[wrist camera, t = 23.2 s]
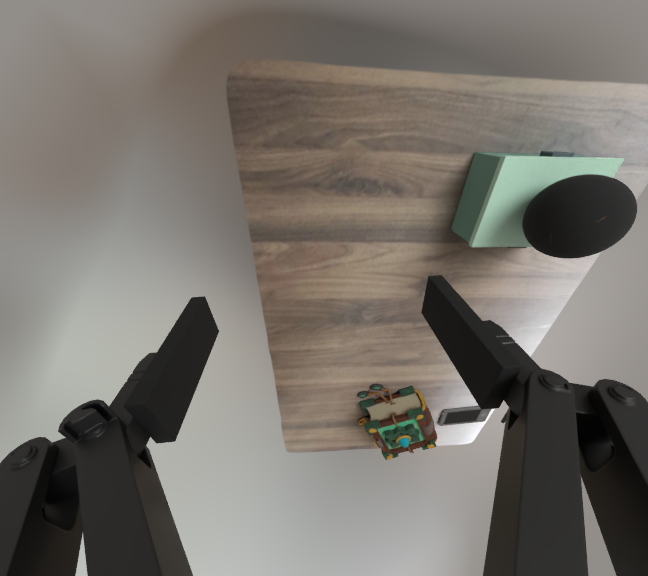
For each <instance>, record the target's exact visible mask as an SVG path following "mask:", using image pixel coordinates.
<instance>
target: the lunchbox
mask: <svg viewBox="0 0 648 576" xmlns="http://www.w3.org/2000/svg"><path fill="white" fill-rule="evenodd" d="M623 160H624V159H621V158H597V157H589V156H581V155H574V153H568V152H549V151H541V153H540V154H527V153H484V152H475V154H474V158H473V161H472V164H471V167H470V170H469V173H468V176H467V180H466V183H465V186H464V189H463V192H462V195H461V199H460V202H459V205H458V208H457V211H456V214H455V218H454V221H453V224H452V227H451V230H452V231H453V232H455V233H456V234H457V235H459V236H460V237H462V238H463V239H464V240H466V241H467V242H468V243H469V244H468V245H469V246H471V247H508V248H526V247H533V246H532V245H531V244H530V243H529V242H528V241H527V239H526V237H525V235H524V233H523V228H522V221H523V216H524V213H525V210H526V208H527V206H528V205H529V203H530V202H531V201H532V199H533V198H534V197H535V196H536V195H537V194H538V193H540V192H541V191H542V190H543V189H545V188H546V187H548V186H549V185H551V184H553V183H555V182H557V181H560V180H562V179H565V178H568V177H572V176H577V175H585V174H597V175H604V176H608V177H611V178H613V176H614V175H615V173H616V172H617V170H618V168H619V167H620V165H621V163H622V162H623Z"/></svg>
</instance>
